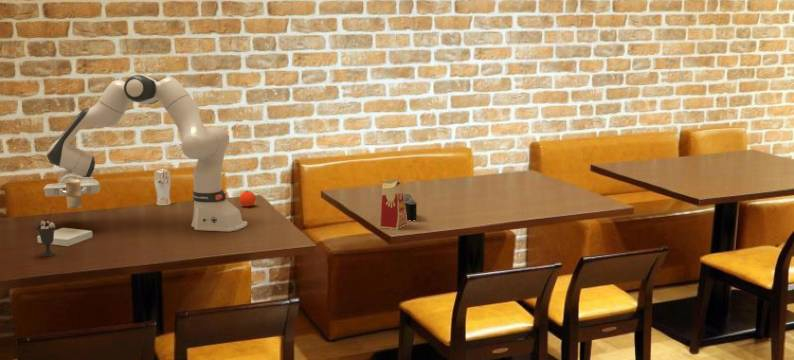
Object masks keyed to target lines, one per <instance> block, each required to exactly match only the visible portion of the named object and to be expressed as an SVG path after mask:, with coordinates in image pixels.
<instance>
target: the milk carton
mask: <svg viewBox="0 0 794 360" xmlns="http://www.w3.org/2000/svg"><path fill="white" fill-rule="evenodd" d="M381 182H382V189H381V191H382V192H381V202H380V203H381V204H380V227H379V228H380V229H385V228H390V229H389V230H393V229H396V230H395V231H398V230H400V229H399V228H401V227H403V226H405V225H407V224H408V221H407V213H406V207H405V201H404V196H403V193H404V192H403V188H402V183H401V182H400V181H399V177H396V178H393V179H388V180H381ZM407 226H408V225H407ZM405 227H406V226H405ZM403 228H404V227H403ZM397 229H398V230H397ZM401 229H402V228H401Z"/></svg>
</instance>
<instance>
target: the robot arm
mask: <svg viewBox="0 0 794 360" xmlns="http://www.w3.org/2000/svg"><path fill="white" fill-rule="evenodd" d="M133 102H135V103H139V104H143V105H154V104H155V103H156V104H157V103H160V104H161V105H162V106H163V108H164V110H165V111H166V112H167V114H168V115H169V117H170V119H172V121H173V122H174V124H175V126H176V128H177V129H178V132H179V136H180V138H181V144H180V145H181V146H180V147H181V151H182V153H183V155H184V156H185V157H187V158H188V159H192V160H193V159H194V160H197V162H196V164H195V168H194V169H193V172H192V173H193V191H192V199H193V200H192V201H193V214H192V221H191V224H190V225H191V227H192V228H194V229H193V230H195V231H206V232H207V231H209V232H210V231H211V232H212V231H213V232H233V231H234V232H235V231H239V230H242V229H243V228H246V227H247V226H248V221H245V220H243V217H242V214H241V211H240V209H239V208H238V207H236V206H234V204H232V203H231V202H230V201H229V200H227V196H228V195H229V194H228V193H229V192H224V190H223V183H222V182H223V180H222V175H223V174H222V172H223V163H224V159H225V154H226V149H227V147H228V146H229V144H230V135H229V134H228V132H227V130H226V129H224V128H222V127H217V126H209V127H205V126H204V123H203V121H202V118H201V115H202V112H201V109H200V108H199V105H197V104H196V102H195V101H194V99H193V98H192V97H191V94H189V92H188V91H187V90H186V89H185V87H184V86H183V85H182V84H181V83H180V82H179V81H178V80H177V79H176V78H175V77H171V76H168V77H164V78H163V79H161V80H157V79H156V78H153V77H150V76H149V75H148V76H147V75H141V74H135V75H132V76H129V77H127V79H126V81H124V80H119V79H116V80H113V81H111V82H110V83H109V84H108V86H107V87H106V88H105V90H104V91H103V92H102V94H101V96H100V97H99V99H98V100H97V101H96V103H95V104H94V105H93V106H91V107H88V108H87V107H86V108H84V109H82V110H81V111H80V112H79V113H78V114H77V116H75V118H74V119H73V120H71V123H70V124H69V125H68V126H67V127H66V129H65V130H64V131H63V132H62V133H61V135H60V136H59V137H58V138H57V139H56V140H55V141H54V142H53V143H52V144H51V145H50V146H49V148H48V150H47V153H46V157H47V160H48V162H49V163H50V164H51V165H54V166H56V167H60V168H62V169H63V170H62V171H61V172H60V173H59V175H58V178H57V183H47V184H46V185H45V186H44V187H43V189H42V190H43V191H44V196H45V197H46V198H47V197H62V196H63V197H64V196H65V197H66V196H67V191H66V181H65V180H77V179H79V180H80V187H81V196H82V195H88V194H90V195H91V194H99V193H100V191H101V187H100V186H101V185H100V182H99V181H98V180H97V179H94V178H95V177H94V176H92V175H93V172H94V169H95V167H96V161H95V157H94V155H93V154H91V153H89V152H87V151H85V150H83V149H81V148H78V147H77V146H74V145H72V144H70V142H71V141H72V140H73V139H74V137H76V135H77V134H78V132H80V130H81V129H83V128H85V127H98V128H109V127H110V128H111V127H113V126H116V125H117V124H118V123H119V122H120V121H121V120H122V118H123V116H124V115H125V112H126V110H127V109H128V107H129V106H130V104H132V103H133Z"/></svg>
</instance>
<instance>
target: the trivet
mask: <svg viewBox="0 0 794 360" xmlns="http://www.w3.org/2000/svg"><path fill="white" fill-rule="evenodd" d="M36 237H37V243H38V244H43V243H42V241H41V238H40V235H37V236H36ZM92 238H93V230H87V229H77V228H68V227H61V228H58V229H54V239H53V242H52V243H51V244H50V245H54V246H61V247H69V246H72V245H76V244H78V243H82V242H83V241H86V240H88V239H92Z"/></svg>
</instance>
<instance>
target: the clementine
mask: <svg viewBox="0 0 794 360" xmlns="http://www.w3.org/2000/svg"><path fill="white" fill-rule="evenodd" d="M256 199H257V198H256V195H255V194H254V192H252V191H250V190H245V191H244V190H243V192H242V193H240V196H239V203H240V204H241V206H243V207H245V208H249V206H250V207H252V206H253V205H255V203H256Z"/></svg>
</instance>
